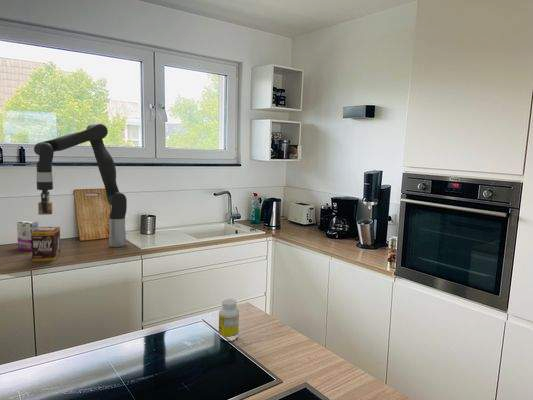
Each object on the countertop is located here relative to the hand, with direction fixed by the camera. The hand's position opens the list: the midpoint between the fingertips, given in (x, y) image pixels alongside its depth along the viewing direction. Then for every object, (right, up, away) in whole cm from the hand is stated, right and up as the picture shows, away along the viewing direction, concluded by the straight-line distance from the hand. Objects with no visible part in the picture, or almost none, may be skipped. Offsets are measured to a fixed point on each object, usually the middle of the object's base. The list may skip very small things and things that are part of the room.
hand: (45, 211), depth 212 cm
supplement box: (-1, -25, +3) cm, 25 cm away
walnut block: (0, -1, 0) cm, 1 cm away
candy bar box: (-19, -22, +17) cm, 34 cm away
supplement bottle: (+105, -40, -78) cm, 137 cm away
